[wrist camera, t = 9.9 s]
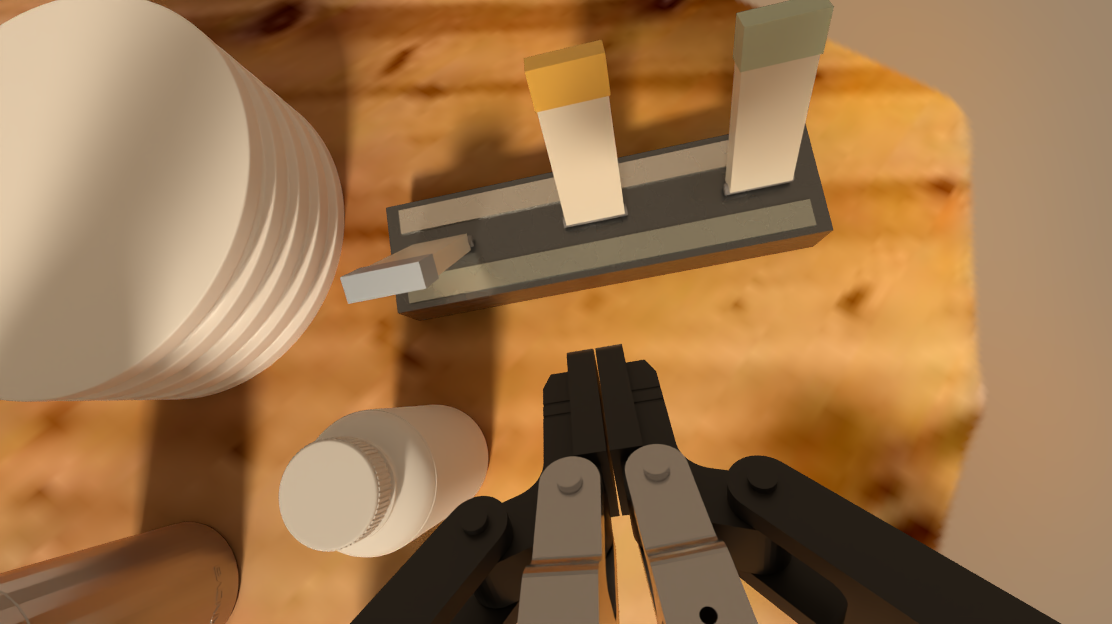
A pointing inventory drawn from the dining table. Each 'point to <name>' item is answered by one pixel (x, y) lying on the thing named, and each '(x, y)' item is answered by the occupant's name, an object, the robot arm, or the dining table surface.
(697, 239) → the switch strip
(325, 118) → the dining table surface
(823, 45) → the lever sage
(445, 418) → the pill bottle
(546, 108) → the lever amber
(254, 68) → the dining table surface
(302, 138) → the plate stack
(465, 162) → the dining table surface
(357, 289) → the lever slate
